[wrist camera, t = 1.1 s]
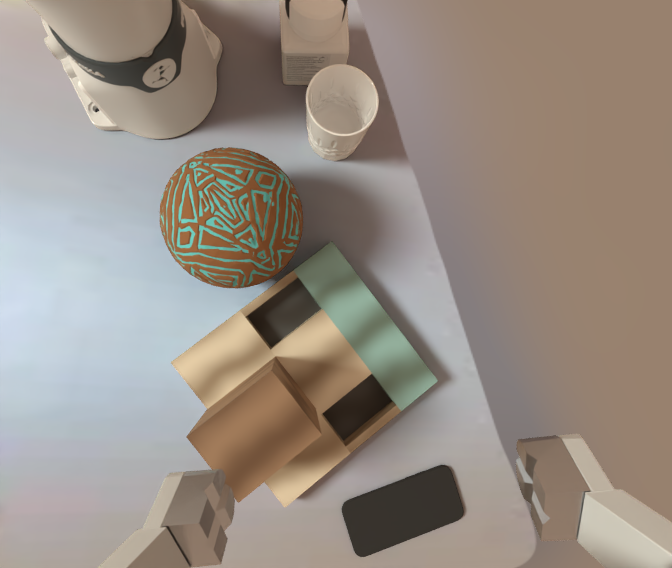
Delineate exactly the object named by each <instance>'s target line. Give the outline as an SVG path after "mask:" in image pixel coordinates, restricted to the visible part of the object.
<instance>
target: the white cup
mask: <svg viewBox="0 0 672 568" xmlns="http://www.w3.org/2000/svg"><path fill="white" fill-rule="evenodd" d="M378 106H379V98H378V93H377V90H376V87H375V85H374V83H373V82H372V80H371V79H370V78H369V77H368V75H366V74H365V73H364V72H363V71H361V70H360V69H358V68H356V67H354V66H350V65H346V64H335V65H331V66H328V67H325V68H323V69H322V70H320V71H319V72H318V73H317V74H316V75H315V76H314V77H313V78H312V80H311V81H310V83H309V85H308V88H307V92H306V123H307V131H308V141H309V143H310V145H311V147H312V149H313V151H314V152H315V153H317V154H318V155H319V156H321V157H322V158H323V159H327V160H332V161H337V160H341V159H345V158H347V157H348V156H349V155H350V154H352V153H353V152H354V151H355V149H356V147H357V146H358V145H359V144H360V142H361V141H362V139H363V138H364V136H365V134H366V133H367V131H368V129H369V127H370V126H371V124H372V122H373V120H374V119H375V117H376V114H377V111H378Z"/></svg>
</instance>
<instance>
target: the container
mask: <svg viewBox="0 0 672 568" xmlns="http://www.w3.org/2000/svg"><path fill="white" fill-rule="evenodd" d="M279 7H280V32H281V54H282V76H283V83H284V84H285V85H309V83H310V81H311V80H312V78H313V77H314V76H315V75H316V74H317V73H318V72H319V71H320V70H322V69H323V68H325V67H328V66H331V65H335V64H346V63H347V59H348V55H349V51H350V50H349V31H348V12H347V0H279Z"/></svg>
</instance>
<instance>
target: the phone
mask: <svg viewBox="0 0 672 568" xmlns="http://www.w3.org/2000/svg"><path fill="white" fill-rule="evenodd" d="M342 513H343V517H344V520H345V523H346V526H347V529H348V533H349V536H350V539H351V542H352V545H353V548H354V551H355V553H356V554H357V555H358V556H360V557H365V556H368V555H371V554H373V553H376V552H379V551H381V550H384V549H386V548H389V547H391V546H394V545H396V544H399V543H402V542H404V541H407V540H409V539H412V538H414V537H417V536H419V535H422V534H425V533H427V532H430V531H432V530H435V529H437V528H440V527H442V526H445V525H448V524H450V523H453V522H455V521H457V520H459V519H460V518H461V517H462V516H463V507H462V504H461V500H460V497H459V494H458V491H457V488H456V484H455V481H454V478H453V475H452V472H451V470H450V469H449V468H448V467H447V466H445V465H440V466H437V467H434V468H431V469H429V470H426V471H423V472H420V473H417V474H415V475H412V476H409V477H406V478H405V479H402V480H400V481H397V482H394V483H392V484H389V485H386V486H384V487H381V488H378V489H376V490H373V491H371V492H368V493H365V494H363V495H360V496H357V497H355V498H352V499H350V500H348V501H346V502H345V503H344V504H343V506H342Z"/></svg>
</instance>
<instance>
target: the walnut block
mask: <svg viewBox="0 0 672 568" xmlns="http://www.w3.org/2000/svg"><path fill="white" fill-rule="evenodd" d="M321 435H322V433H321V429H320V425H319V420H318V416H317V411H316V408H315V407H314V405H313V404H312V403H311V401H310V400H309V399H308V398H307V396H306V395H305V394H304V392H303V391H302V390H301V389H300V387H299V386H298V385H297V383H296V382H295V381H294V380H293V378H292V377H291V376H290V374H289V373H288V372H287V371H286V369H285V368H284V367H283V365H282V364H281V363H280V361H279V360H278V359H277V358H276V356H275V357H274V358H273V359H271V360H270V361H269V362H268V363H266V364H265V365H264V366H262V367H261V368H260V369H259V370H257V371H256V372H255V373H253V374H252V375H251V376H250V377H248V378H247V379H246V380H244V381H243V382H242V383H241V384H239V385H238V386H237V387H235V388H234V389H233V390H232V391H230V392H229V393H228V394H226V395H225V396H224V397H223V398H221V399H220V400H219V401H217V402H216V403H215V404H213V405H212V406H211V407H210V408H208V409H207V410H206V412H205V413H204V414H203V416H202V417H201V418H200V420H199V421H198V422H197V424H196V425H195V426H194V427H193V429H192V430H191V431H190V433H189V434H188V435H187V438H188V440H189V441H190V442H191V443H192V445H193V446H194V447H195V448H196V450H197V451H198V452H199V453H200V455H201V456H202V457H203V459H204V460H205V461H206V462H207V464H208V465H209V466H210V467H211V469H212V470H216V469H222V470H223V471H224V473H225V475H226V479H225V484H227V485H228V486H230V487H231V489H232V491H233V494H234V498H235V499H236V500H237V502H238V503H239V502H240V501H241V500H242V499H244V498H245V497H246V496H247V495H249V494H250V493H251V492H252V491H253V490H255V489H256V488H257V487H258V486H260V485H261V484H262V483H263V482H265V481H266V480H267V479H268V478H269V477H271V476H272V475H273V474H274V473H276V472H277V471H278V470H279V469H280V468H282V467H283V466H284V465H285V464H287V463H288V462H289V461H290V460H292V459H293V458H294V457H295V456H296V455H298V454H299V453H300V452H301V451H303V450H304V449H305V448H306V447H307V446H309V445H310V444H311V443H312V442H314V441H315V440H316V439H317V438H319V437H320V436H321Z"/></svg>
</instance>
